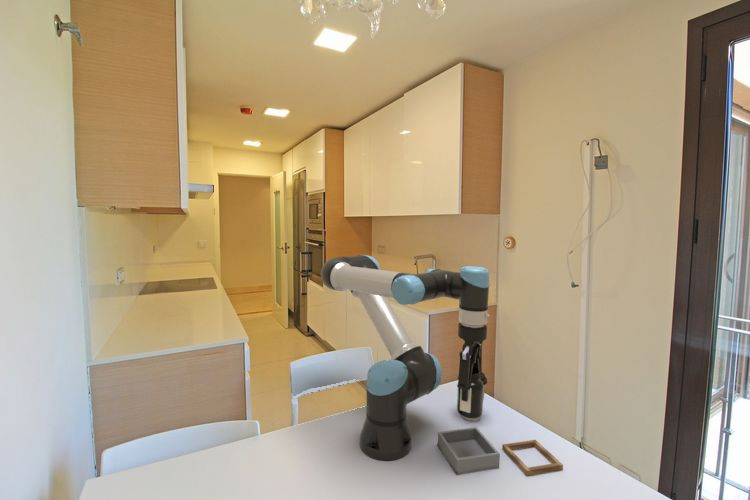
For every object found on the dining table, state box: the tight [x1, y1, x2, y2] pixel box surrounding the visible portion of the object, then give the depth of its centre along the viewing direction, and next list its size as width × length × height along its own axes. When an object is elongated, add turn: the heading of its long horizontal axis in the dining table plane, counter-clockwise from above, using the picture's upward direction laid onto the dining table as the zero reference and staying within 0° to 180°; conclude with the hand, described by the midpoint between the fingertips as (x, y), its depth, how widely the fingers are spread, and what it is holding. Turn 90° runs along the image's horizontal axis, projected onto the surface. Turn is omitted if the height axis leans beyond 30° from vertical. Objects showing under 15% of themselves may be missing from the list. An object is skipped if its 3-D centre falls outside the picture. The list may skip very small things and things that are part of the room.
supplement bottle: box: [456, 368, 484, 418], centre depth 98 cm, size 7×7×12 cm
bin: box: [437, 426, 501, 476], centre depth 99 cm, size 12×12×4 cm
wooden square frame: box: [501, 439, 564, 477], centre depth 99 cm, size 11×11×2 cm
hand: (469, 404), depth 98 cm, fingers closed on supplement bottle, 7 cm apart
